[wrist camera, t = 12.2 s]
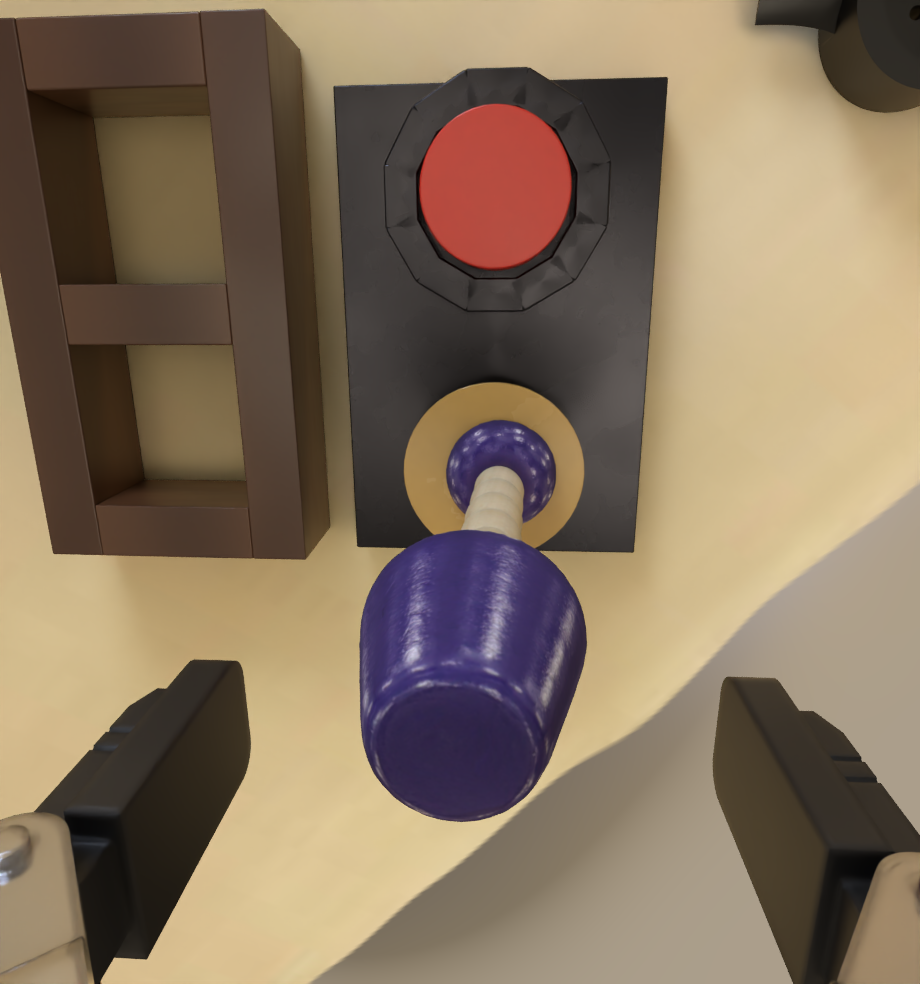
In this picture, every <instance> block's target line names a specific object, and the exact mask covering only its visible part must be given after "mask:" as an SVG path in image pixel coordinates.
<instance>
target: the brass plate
mask: <svg viewBox="0 0 920 984" xmlns="http://www.w3.org/2000/svg"><path fill="white" fill-rule="evenodd" d="M492 420H507V421H512V422H518V423H520V424H522V425H525V426H526V427H528V428H529V429H531V430H533V431H535V432H536V433H538V434H539V435H540V436H541V437H542V438H543V439H544V440H545V441H546V443H547V444H548V446H549V448H550V450H551V452H552V453H553V456H554V460H555V464H556V483H555V488H554V491H553V494H552V497H551V498H550V500H549V502H548V503H547V505H546V506H545V507H544V509H543V510H542V511H541V512H540V513H539V514H537V515H536V516H535V517H534V518H532V519H531V520H529V521H528V522H525V523H523V525H522V530H521V537H522V541H523V542H524V543H526V544H528V545H530V546H531V547H533V548H536V547H538V546H540V545H541V544H543V543H545V542H546V541H548V540H549V539H550V538H551V537H553V536H554V535H555V534H556V533H557V532H558V531H559V530H560V529H561V528H562V527H563V526H564V525H565V524H566V522H567V521H568V520H569V518H570V517H571V515H572V513H573V512H574V510H575V508H576V506H577V504H578V501H579V499H580V496H581V492H582V488H583V482H584V459H583V453H582V449H581V446H580V442H579V439H578V437H577V435H576V433H575V431H574V429H573V427H572V425H571V424H570V422H569V421H568V419H567V418H566V417H565V415H564V414H563V413H562V412H561V411H560V410H559V409H558V408H557V407H556V406H555V405H554V404H553V403H552V402H551V401H549V400H548V399H546V398H545V397H543V396H542V395H540V394H538V393H536V392H534V391H532V390H530V389H528V388H525V387H522V386H519V385H515V384H510V383H502V382H486V383H478V384H473V385H469V386H466V387H463V388H460V389H458V390H456V391H454V392H451V393H449V394H448V395H446V396H445V397H443V398H442V399H440V400H439V401H437V402H436V403H435V404H434V405H433V406H432V407H431V408H429V410H428V411H427V412H426V413H425V414H424V415H423V417H422V418H421V419H420V421H419V422H418V424H417V425H416V427H415V429H414V431H413V433H412V435H411V437H410V439H409V442H408V446H407V449H406V454H405V459H404V479H405V486H406V490H407V494H408V497H409V500H410V502H411V505H412V507H413V509H414V511H415V512H416V514H417V516H418V517H419V519H420V520H421V521H422V523H423V524H424V525H425V526H426V527H427V528H428V529H429V531H430V532H431V533H433V534H434V535H436V534H442V533H446V532H450V531H458V530H461V528H462V526H463V524H464V522H465V514H464V513H463V512H462V511H461V510H460V509H459V508H458V506H457V505H456V504H455V502H454V500H453V499H452V497H451V495H450V492H449V489H448V485H447V479H446V468H447V463H448V458H449V455H450V453H451V450H452V449H453V447H454V445H455V443H456V442H457V441H458V439H459V438H460V437H461V436H462V435H463V434H465V433H466V432H467V431H469V430H470V429H472V428H473V427H475V426H477V425H479V424H481V423H485V422H489V421H492Z"/></svg>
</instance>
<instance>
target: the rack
mask: <svg viewBox="0 0 920 984" xmlns="http://www.w3.org/2000/svg"><path fill="white" fill-rule="evenodd" d="M186 115H210V120H211V130H212V140H213V150H214V160H215V170H216V181H217V191H218V201H219V211H220V221H221V231H222V242H223V252H224V262H225V272H226V282H227V284H116V278H115V271H114V264H113V257H112V250H111V243H110V236H109V229H108V222H107V215H106V208H105V201H104V194H103V187H102V180H101V173H100V166H99V159H98V151H97V144H96V137H95V130H94V123H93V117H94V118H102V117H144V116H186ZM0 273H1V278H2V284H3V289H4V294H5V300H6V305H7V310H8V316H9V321H10V326H11V332H12V337H13V342H14V348H15V353H16V358H17V364H18V369H19V374H20V379H21V385H22V390H23V395H24V401H25V406H26V411H27V417H28V422H29V427H30V433H31V438H32V443H33V449H34V454H35V459H36V465H37V470H38V475H39V481H40V486H41V491H42V497H43V502H44V507H45V513H46V518H47V523H48V529H49V534H50V539H51V544H52V550H53V553H54V554H81V555H120V556H166V557H212V558H257V559H303V560H305V559H306V558H307V557H308V556H309V554H310V553H311V552H312V550H313V549H314V548H315V546H316V545H317V544H318V542H319V541H320V540H321V538H322V537H323V536H324V534H325V533H326V532H327V530H328V529H329V528H330V517H329V501H328V485H327V469H326V454H325V438H324V422H323V406H322V390H321V375H320V359H319V343H318V327H317V311H316V295H315V280H314V264H313V248H312V232H311V216H310V201H309V185H308V169H307V153H306V137H305V122H304V106H303V90H302V74H301V58H300V49H299V48H298V47H297V46H296V45H295V43H294V42H293V41H292V40H291V39H290V38H289V37H288V35H287V34H286V33H285V32H284V31H283V30H282V29H281V28H280V26H279V25H278V24H277V23H276V22H275V21H274V20H273V18H272V17H271V16H270V15H269V14H268V13H267V12H266V10H265V9H245V10H216V11H200V12H172V13H143V14H114V15H85V16H56V17H27V18H16V19H15V18H0ZM125 345H233V353H234V364H235V374H236V384H237V394H238V404H239V414H240V425H241V435H242V445H243V455H244V465H245V475H246V481H219V480H146V479H145V480H144V474H143V467H142V460H141V453H140V446H139V439H138V432H137V425H136V418H135V411H134V404H133V397H132V390H131V383H130V376H129V369H128V362H127V355H126V348H125Z"/></svg>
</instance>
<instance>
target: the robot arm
mask: <svg viewBox="0 0 920 984" xmlns="http://www.w3.org/2000/svg"><path fill="white" fill-rule="evenodd" d="M250 749H251V738H250V729H249V720H248V711H247V702H246V693H245V684H244V675H243V670H242V667H241V665H240V663H239V662H238V661H225V660H192V661H190V662H189V663H188V664H187V665H186V666H185V668H184V669H183V670H182V671H181V672H180V673H179V675H178V676H177V677H176V678H175V679H174V681H173V682H172V683H171V684H170V685H169V686H168V688H167V689H159V688H157V689H156V690H154V691H153V692H151V693H149V694H148V695H146V696H145V697H143V698H141V699H140V700H138V701H137V702H135V703H134V704H132V705H130V706H129V707H128V708H127V709H126V710H125V711H124V712H123V714H122V715H121V716H120V717H119V718H118V719H117V720H116V721H115V722H114V724H113V725H112V726H111V727H110V731H109V732H105V734H104V735H103V736H102V737H101V738H100V739H99V740H98V741H97V742H96V744H95V745H94V748H93V750H89V751H88V752H87V754H86V755H85V756H84V757H83V758H82V759H81V760H80V761H79V762H78V764H77V765H76V766H75V767H74V768H73V769H72V770H71V771H70V772H69V774H68V775H67V776H66V777H65V778H64V779H63V780H62V781H61V782H60V784H59V785H58V786H57V787H56V788H55V789H54V790H53V791H52V792H51V794H50V795H49V796H48V797H47V798H46V799H45V800H44V801H43V802H42V804H41V805H40V806H39V807H38V808H37V809H36V810H35V811H34V812H32V813H24V814H19V815H14V816H11V817H8V818H4V819H2V820H0V984H102V983H101V979H102V977H103V976H104V974H105V972H106V970H107V969H108V967H109V965H110V964H111V962H112V960H113V958H131V959H147V958H148V956H149V954H150V952H151V951H152V949H153V947H154V945H155V943H156V941H157V939H158V937H159V936H160V934H161V932H162V930H163V928H164V926H165V924H166V923H167V921H168V919H169V917H170V915H171V913H172V911H173V909H174V908H175V906H176V904H177V902H178V900H179V898H180V896H181V895H182V893H183V891H184V889H185V887H186V885H187V883H188V881H189V880H190V878H191V876H192V874H193V872H194V870H195V868H196V867H197V865H198V863H199V861H200V859H201V857H202V855H203V853H204V852H205V850H206V848H207V846H208V844H209V842H210V840H211V839H212V837H213V835H214V833H215V831H216V829H217V827H218V825H219V824H220V822H221V820H222V818H223V816H224V814H225V812H226V811H227V809H228V807H229V805H230V803H231V801H232V799H233V797H234V796H235V794H236V792H237V790H238V788H239V786H240V784H241V783H242V781H243V779H244V776H245V774H246V771H247V767H248V763H249V758H250ZM713 777H714V784H715V790H716V794H717V798H718V800H719V803H720V805H721V808H722V810H723V813H724V815H725V818H726V820H727V823H728V825H729V827H730V830H731V832H732V834H733V837H734V840H735V842H736V845H737V847H738V850H739V852H740V854H741V857H742V859H743V862H744V864H745V867H746V869H747V872H748V874H749V876H750V879H751V881H752V884H753V886H754V889H755V891H756V894H757V896H758V898H759V901H760V903H761V906H762V908H763V911H764V913H765V916H766V918H767V921H768V923H769V925H770V927H771V930H772V933H773V935H774V938H775V940H776V943H777V945H778V947H779V950H780V952H781V955H782V957H783V960H784V962H785V965H786V967H787V969H788V972H789V974H790V977H791V979H792V982H793V984H920V835H919V834H918V832H917V831H916V830H915V828H914V827H913V826H912V824H911V823H910V822H909V820H908V819H907V818H906V816H905V815H904V814H903V812H902V811H901V810H900V808H899V807H898V806H897V804H896V803H895V802H894V800H893V799H892V798H891V796H890V795H889V794H888V792H887V791H886V789H885V788H884V787H883V786H882V784H881V783H877V778H876V776H875V775H874V774H873V772H872V771H871V770H870V768H869V767H868V765H867V764H866V763H865V762H862V761H861V756H860V755H859V753H858V752H857V751H856V750H855V748H854V747H853V745H852V744H851V743H850V741H849V740H848V739H847V737H846V736H845V735H844V733H843V732H841V731H840V730H839V729H837V728H836V727H834V726H833V725H832V724H830V723H829V722H827V721H826V720H825V719H823V718H822V717H821V716H819V715H818V714H816V713H815V712H814V711H799V710H798V708H797V707H796V706H795V704H794V703H793V701H792V700H791V698H790V697H789V695H788V694H787V693H786V691H785V689H784V688H783V687H782V685H781V684H780V682H779V681H778V680H776V679H775V678H753V677H726V678H725V680H724V681H723V684H722V687H721V695H720V703H719V711H718V720H717V728H716V737H715V745H714V753H713Z"/></svg>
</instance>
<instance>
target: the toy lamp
mask: <svg viewBox="0 0 920 984" xmlns="http://www.w3.org/2000/svg"><path fill="white" fill-rule="evenodd" d="M446 479H447V485H448V489H449V492H450V495H451V497H452V499H453V500H454V502H455V504H456V505H457V506H458V508H459V509H460V510H461V511H462V512H463V513H464V514H465V522H464V524H463V526H462V528H461V530H458V531H450V532H446V533H442V534H436V535H433V536H430V537H427V538H425V539H423V540H421V541H419V542H416V543H415V544H413V545H411V546H409V547H407V548H406V549H405V550H403V551H402V552H401V553H400V554H398V555H397V556H396V557H394V558H393V559H392V560H391V561H390V562H389V563H388V564H387V565H386V566H385V567H384V569H383V570H382V571H381V573H380V574H379V576H378V578H377V579H376V581H375V583H374V584H373V586H372V588H371V590H370V592H369V595H368V597H367V600H366V603H365V607H364V610H363V615H362V620H361V629H360V644H359V647H360V719H361V731H362V739H363V745H364V749H365V752H366V755H367V758H368V761H369V763H370V766H371V768H372V770H373V772H374V774H375V776H376V777H377V778H378V780H379V781H380V782H381V784H382V785H383V786H384V787H385V788H386V789H387V790H388V791H389V792H390V793H391V794H392V795H393V796H394V797H395V798H396V799H397V800H399V801H400V802H401V803H403V804H404V805H406V806H408V807H409V808H411V809H413V810H415V811H418V812H420V813H422V814H424V815H427V816H429V817H433V818H436V819H441V820H447V821H457V822H467V821H477V820H482V819H486V818H490V817H492V816H495V815H498V814H501V813H503V812H505V811H507V810H509V809H510V808H511V807H513V806H514V805H516V804H517V803H518V802H520V801H521V800H522V799H524V798H525V797H526V796H527V795H528V794H529V793H530V791H531V790H532V789H533V788H534V786H535V785H536V784H537V782H538V780H539V779H540V777H541V775H542V773H543V772H544V770H545V768H546V766H547V765H548V763H549V761H550V758H551V756H552V753H553V750H554V748H555V745H556V742H557V740H558V737H559V734H560V731H561V729H562V726H563V723H564V721H565V718H566V716H567V713H568V710H569V707H570V705H571V702H572V699H573V697H574V694H575V691H576V688H577V684H578V681H579V679H580V675H581V672H582V669H583V665H584V660H585V654H586V648H587V638H586V626H585V620H584V614H583V611H582V608H581V605H580V602H579V600H578V597H577V595H576V593H575V591H574V589H573V588H572V586H571V585H570V583H569V582H568V580H567V579H566V577H565V575H564V574H563V573H562V572H561V571H560V570H559V569H558V567H557V566H556V565H555V564H554V563H553V562H552V561H551V560H550V559H548V558H547V557H546V556H544V555H543V554H542V553H541V552H540V551H539V550H537V549H535V548H533V547H531V546H530V545H528V544H526V543H524V542H523V541H522V537H521V530H522V525H523V523H525V522H528V521H529V520H531V519H532V518H534V517H535V516H536V515H537V514H539V513H540V512H541V511H542V510H543V509H544V507H545V506H546V505H547V503H548V502H549V500H550V498H551V497H552V494H553V491H554V488H555V483H556V464H555V460H554V456H553V453H552V452H551V450H550V448H549V446H548V444H547V443H546V441H545V440H544V439H543V438H542V437H541V436H540V435H539V434H538V433H536V432H535V431H533V430H531V429H529V428H528V427H526V426H525V425H522V424H520V423H518V422H512V421H507V420H492V421H489V422H485V423H481V424H479V425H477V426H475V427H473V428H472V429H470V430H469V431H467V432H466V433H465V434H463V435H462V436H461V437H460V438H459V439H458V441H457V442H456V443H455V445H454V447H453V449H452V450H451V453H450V455H449V458H448V463H447V468H446Z"/></svg>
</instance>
